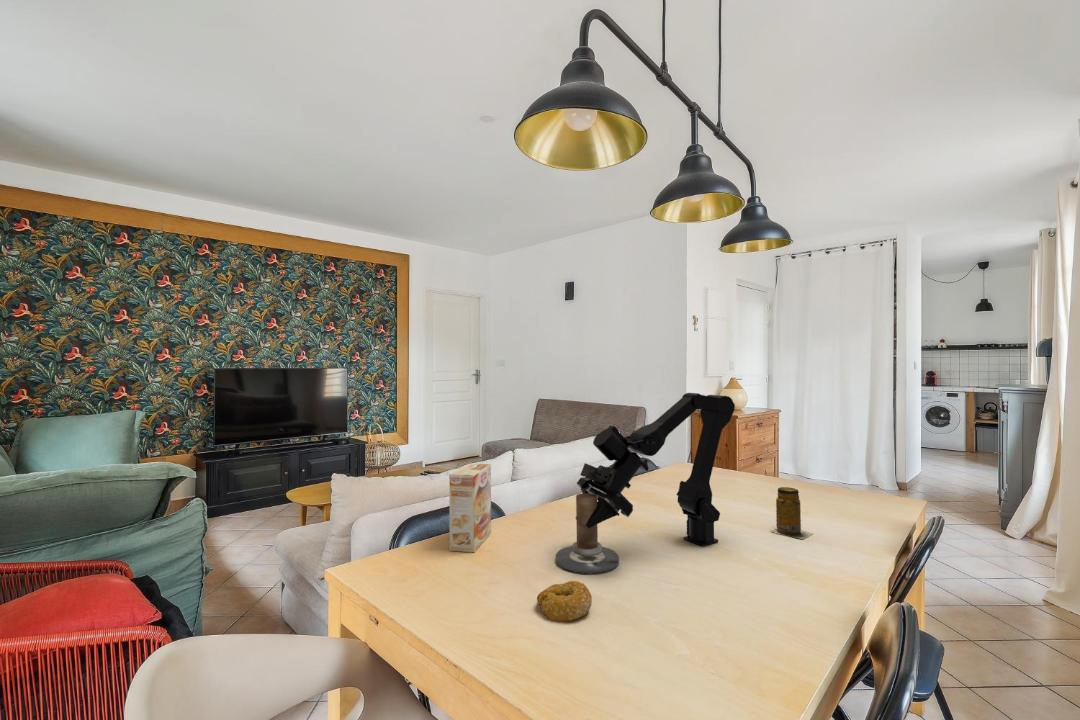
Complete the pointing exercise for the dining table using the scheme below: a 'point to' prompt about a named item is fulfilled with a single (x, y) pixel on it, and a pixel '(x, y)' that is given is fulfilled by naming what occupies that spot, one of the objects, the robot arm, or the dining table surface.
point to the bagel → (565, 601)
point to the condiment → (789, 513)
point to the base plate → (587, 561)
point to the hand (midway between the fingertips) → (581, 523)
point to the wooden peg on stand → (586, 536)
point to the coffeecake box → (470, 507)
